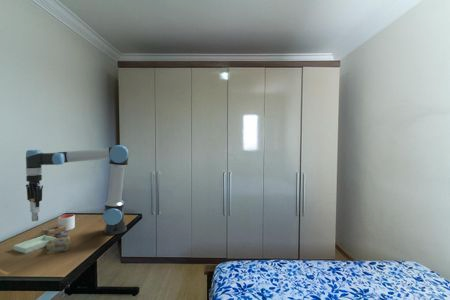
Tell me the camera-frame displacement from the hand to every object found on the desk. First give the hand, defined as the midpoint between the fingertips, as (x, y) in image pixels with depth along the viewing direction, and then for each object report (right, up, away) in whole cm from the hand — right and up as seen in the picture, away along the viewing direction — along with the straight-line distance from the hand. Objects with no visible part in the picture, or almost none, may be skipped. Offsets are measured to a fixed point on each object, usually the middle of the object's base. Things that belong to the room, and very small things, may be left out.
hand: (34, 211), depth 149 cm
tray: (0, -22, +1) cm, 22 cm away
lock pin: (0, -6, 0) cm, 6 cm away
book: (+16, -23, 0) cm, 28 cm away
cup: (0, -21, +30) cm, 37 cm away
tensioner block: (+2, -21, +17) cm, 28 cm away
